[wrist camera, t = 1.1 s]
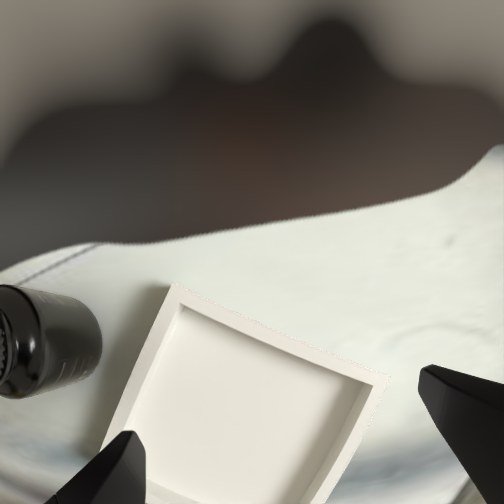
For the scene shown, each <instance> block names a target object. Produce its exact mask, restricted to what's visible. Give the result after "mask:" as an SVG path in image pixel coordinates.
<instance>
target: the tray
mask: <svg viewBox="0 0 504 504" xmlns="http://www.w3.org/2000/svg"><path fill="white" fill-rule="evenodd" d="M390 378H391V376H388V375H386V374H383V373H380V372H378V371H375V370H372V369H370V368H367V367H365V366H362V365H359V364H357V363H354V362H352V361H349V360H347V359H344V358H342V357H339V356H337V355H334V354H332V353H329V352H327V351H324V350H322V349H319V348H317V347H315V346H312V345H310V344H307V343H305V342H303V341H300V340H298V339H295V338H293V337H291V336H288V335H286V334H284V333H281V332H279V331H277V330H275V329H272V328H270V327H268V326H265V325H263V324H261V323H259V322H256V321H254V320H252V319H250V318H248V317H245V316H243V315H241V314H239V313H237V312H234V311H232V310H230V309H228V308H226V307H224V306H221V305H219V304H217V303H215V302H213V301H211V300H209V299H207V298H204V297H202V296H200V295H198V294H196V293H194V292H192V291H190V290H188V289H186V288H184V287H182V286H180V285H178V284H176V283H174V282H173V283H172V285H171V287H170V289H169V292H168V294H167V296H166V298H165V300H164V302H163V304H162V306H161V308H160V311H159V313H158V315H157V317H156V319H155V321H154V324H153V326H152V328H151V330H150V332H149V335H148V337H147V339H146V341H145V343H144V346H143V348H142V350H141V352H140V355H139V357H138V359H137V361H136V364H135V366H134V368H133V371H132V373H131V375H130V378H129V380H128V382H127V385H126V387H125V389H124V392H123V394H122V397H121V399H120V401H119V404H118V406H117V409H116V411H115V414H114V416H113V419H112V421H111V424H110V426H109V429H108V431H107V434H106V436H105V439H104V441H103V444H102V447H101V449H100V451H101V450H102V449H103V448H105V447H106V446H107V445H108V444H109V443H110V442H111V441H112V440H113V439H114V438H115V437H116V436H117V435H118V434H119V433H120V432H121V431H124V430H134V431H135V432H136V433H137V435H138V436H139V438H140V440H141V442H142V444H143V446H144V448H145V451H146V500H145V502H146V503H148V504H324V503H325V501H326V500H327V498H328V497H329V495H330V493H331V492H332V490H333V489H334V487H335V485H336V484H337V482H338V480H339V479H340V477H341V475H342V474H343V472H344V470H345V469H346V467H347V465H348V463H349V462H350V460H351V458H352V456H353V454H354V453H355V451H356V449H357V447H358V445H359V443H360V441H361V439H362V437H363V436H364V434H365V432H366V430H367V428H368V426H369V424H370V422H371V420H372V417H373V415H374V413H375V411H376V409H377V407H378V405H379V403H380V400H381V398H382V396H383V394H384V392H385V389H386V387H387V385H388V382H389V380H390Z"/></svg>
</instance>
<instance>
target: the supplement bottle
mask: <svg viewBox="0 0 504 504" xmlns="http://www.w3.org/2000/svg"><path fill="white" fill-rule="evenodd" d="M101 353H102V335H101V330H100V327H99V324H98V322H97V320H96V318H95V316H94V315H93V313H92V312H91V311H90V309H89V308H88V307H87V306H86V305H84V304H83V303H82V302H80V301H78V300H76V299H74V298H71V297H67V296H62V295H57V294H52V293H47V292H42V291H37V290H32V289H27V288H23V287H18V286H13V285H6V284H0V396H2V397H5V398H8V399H23V398H27V397H31V396H34V395H38V394H41V393H44V392H47V391H51V390H54V389H57V388H60V387H63V386H67V385H70V384H73V383H76V382H78V381H81V380H83V379H85V378H87V377H88V376H89V375H90V374H91V373H92V372H93V371H94V370H95V368H96V367H97V365H98V363H99V361H100V357H101Z"/></svg>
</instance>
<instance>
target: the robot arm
mask: <svg viewBox="0 0 504 504" xmlns="http://www.w3.org/2000/svg"><path fill="white" fill-rule="evenodd" d="M418 392H419V395H420V397H421V398H422V400H423V402H424V404H425V406H426V408H427V410H428V412H429V414H430V415H431V417H432V419H433V421H434V423H435V425H436V427H437V428H438V430H439V431H440V433H441V434H442V436H443V437H444V439H445V440H446V442H447V443H448V445H449V446H450V448H451V449H452V451H453V452H454V454H455V455H456V457H457V458H458V460H459V461H460V463H461V464H462V466H463V467H464V469H465V470H466V472H467V473H468V475H469V476H470V478H471V479H472V481H473V483H474V484H475V486H476V487H477V489H478V490H479V492H480V494H481V495H482V497H483V498H484V500H485V501H486V503H487V504H504V384H501V383H498V382H494V381H490V380H486V379H483V378H479V377H475V376H472V375H468V374H465V373H461V372H457V371H454V370H451V369H447V368H444V367H440V366H437V365H433V364H431V365H428V366H426V367H423V368H422V369H421V371H420V376H419V384H418ZM145 500H146V451H145V448H144V446H143V444H142V442H141V440H140V438H139V436H138V435H137V433H136V432H135V431H134V430H124V431H121V432H120V433H119V434H118V435H117V436H116V437H115V438H114V439H113V440H112V441H111V442H110V443H109V444H108V445H107V446H106V447H105V448H103V449H102V450H101V451H100V452H99V453H98V454H97V455H96V456H95V457H94V458H93V459H92V460H91V461H90V462H89V463H88V464H87V465H86V466H85V467H83V468H82V469H81V470H80V471H79V472H78V473H77V474H76V475H75V476H74V477H73V478H72V479H71V480H70V481H68V482H67V483H66V484H65V485H64V486H63V487H62V488H61V489H60V490H59V491H58V492H57V493H56V495H55V494H54V495H53V496H52V497H51V498H50V499H49V500H48V501H46V502H45V503H44V504H145Z"/></svg>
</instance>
